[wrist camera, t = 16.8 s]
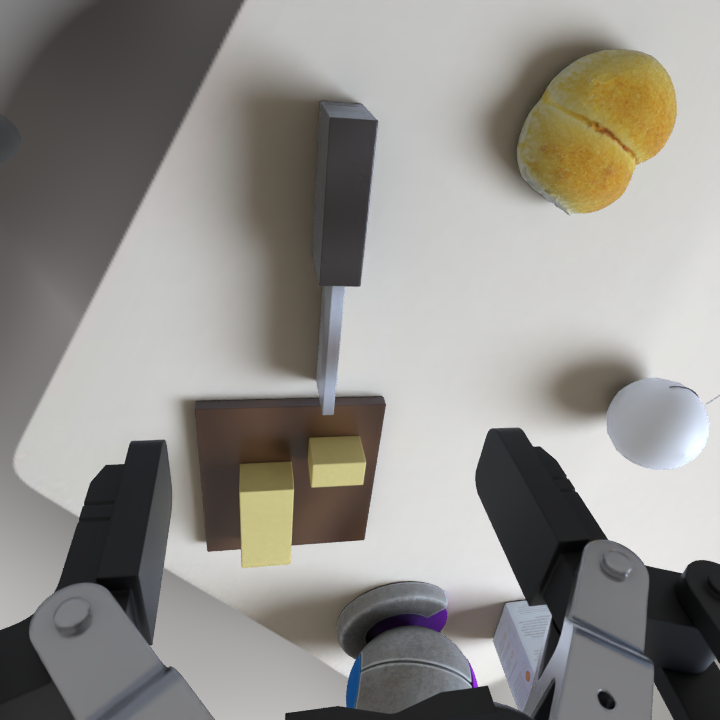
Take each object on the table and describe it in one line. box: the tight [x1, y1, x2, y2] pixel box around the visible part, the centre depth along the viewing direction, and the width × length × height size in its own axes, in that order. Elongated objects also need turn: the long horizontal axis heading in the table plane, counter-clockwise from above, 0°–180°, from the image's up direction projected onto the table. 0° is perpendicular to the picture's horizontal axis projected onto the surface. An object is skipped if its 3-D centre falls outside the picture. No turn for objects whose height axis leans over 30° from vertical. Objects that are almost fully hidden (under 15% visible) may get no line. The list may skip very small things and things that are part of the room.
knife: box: [312, 101, 378, 415], centre depth 34 cm, size 19×2×4 cm, turn 174°
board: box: [195, 397, 386, 552], centre depth 45 cm, size 14×16×1 cm
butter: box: [239, 462, 294, 568], centre depth 44 cm, size 4×9×3 cm, turn 174°
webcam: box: [337, 582, 478, 714], centre depth 54 cm, size 13×13×15 cm
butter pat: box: [308, 436, 366, 487], centre depth 42 cm, size 4×2×3 cm, turn 84°
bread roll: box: [517, 49, 677, 215], centre depth 32 cm, size 8×9×4 cm
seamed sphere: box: [606, 378, 720, 470], centre depth 44 cm, size 10×7×7 cm
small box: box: [493, 600, 551, 712], centre depth 61 cm, size 8×6×10 cm
